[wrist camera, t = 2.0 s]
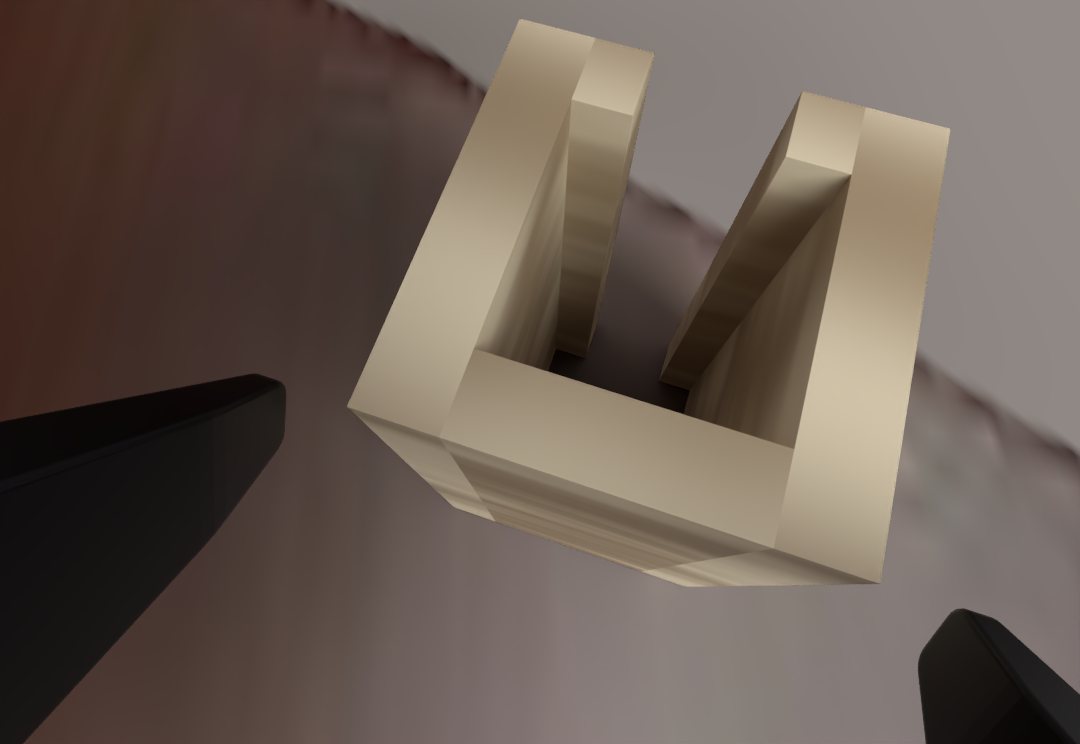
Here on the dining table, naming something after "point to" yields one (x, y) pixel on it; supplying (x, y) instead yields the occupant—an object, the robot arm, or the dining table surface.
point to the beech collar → (695, 350)
